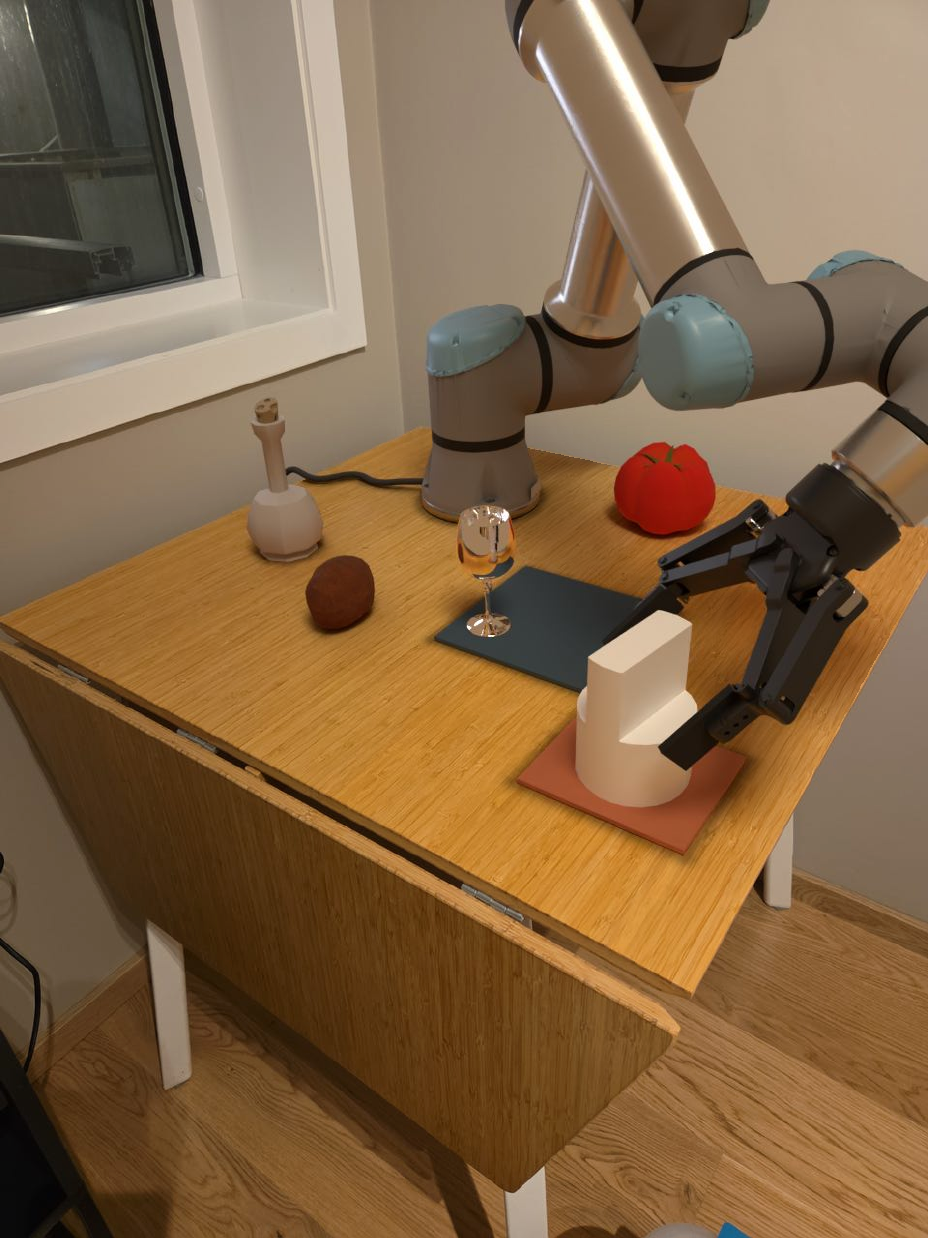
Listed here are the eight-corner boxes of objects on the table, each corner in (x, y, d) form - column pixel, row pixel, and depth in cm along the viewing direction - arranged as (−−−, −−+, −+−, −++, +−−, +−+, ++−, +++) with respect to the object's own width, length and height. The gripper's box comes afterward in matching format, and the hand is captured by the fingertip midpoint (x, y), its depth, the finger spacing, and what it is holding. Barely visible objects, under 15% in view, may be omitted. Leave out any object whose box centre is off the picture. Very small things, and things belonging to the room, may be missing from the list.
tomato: (625, 499, 115) (629, 431, 110) (721, 513, 111) (729, 442, 106) (599, 534, 107) (602, 462, 102) (701, 550, 102) (709, 476, 98)
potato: (289, 628, 92) (279, 572, 89) (344, 587, 99) (337, 534, 96) (343, 645, 89) (336, 588, 86) (396, 601, 96) (391, 547, 92)
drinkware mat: (434, 640, 89) (433, 636, 89) (525, 569, 101) (525, 565, 100) (596, 698, 80) (596, 694, 80) (676, 612, 91) (676, 608, 91)
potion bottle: (339, 537, 109) (320, 392, 100) (298, 571, 103) (273, 418, 93) (279, 527, 113) (255, 385, 103) (236, 558, 106) (206, 409, 96)
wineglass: (524, 614, 92) (523, 506, 85) (508, 644, 87) (505, 532, 81) (470, 606, 93) (465, 500, 87) (451, 636, 89) (444, 525, 82)
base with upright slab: (621, 717, 77) (628, 595, 70) (713, 765, 71) (730, 637, 65) (551, 769, 71) (552, 642, 65) (645, 825, 66) (656, 692, 60)
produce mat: (516, 783, 71) (516, 778, 71) (590, 704, 79) (590, 700, 79) (683, 855, 64) (684, 850, 64) (745, 761, 72) (746, 756, 72)
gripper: (1012, 617, 53) (738, 840, 59) (809, 461, 74) (622, 638, 80) (949, 546, 49) (665, 791, 56) (755, 404, 70) (565, 593, 77)
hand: (639, 701), depth 68 cm, fingers open, 13 cm apart
